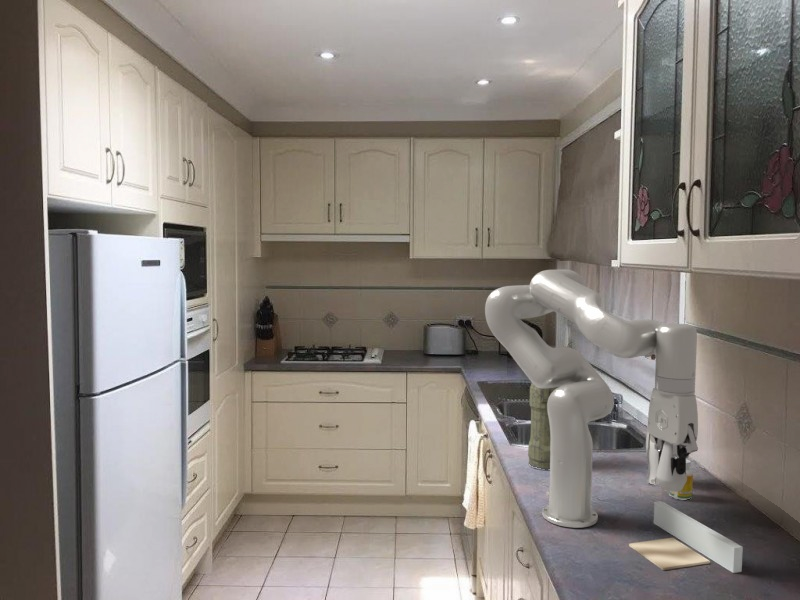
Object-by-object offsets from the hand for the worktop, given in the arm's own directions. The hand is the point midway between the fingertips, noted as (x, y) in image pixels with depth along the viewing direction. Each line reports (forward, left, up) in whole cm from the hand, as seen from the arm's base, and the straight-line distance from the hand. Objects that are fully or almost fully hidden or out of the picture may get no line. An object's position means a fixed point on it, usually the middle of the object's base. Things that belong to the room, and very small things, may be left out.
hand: (671, 472), depth 133 cm
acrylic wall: (-2, +8, -17) cm, 19 cm away
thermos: (-57, +2, -18) cm, 60 cm away
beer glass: (-36, +25, -17) cm, 47 cm away
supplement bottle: (-26, +24, -18) cm, 39 cm away
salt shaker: (0, 0, -3) cm, 3 cm away
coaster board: (0, 0, -17) cm, 17 cm away
